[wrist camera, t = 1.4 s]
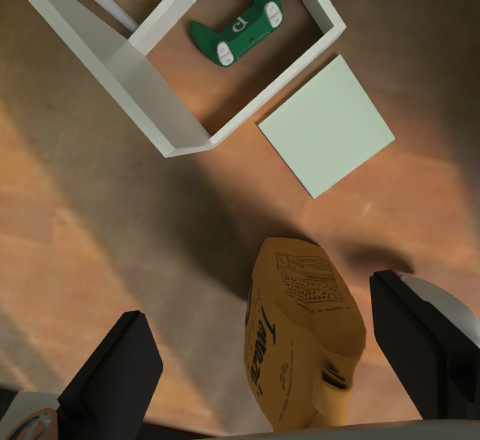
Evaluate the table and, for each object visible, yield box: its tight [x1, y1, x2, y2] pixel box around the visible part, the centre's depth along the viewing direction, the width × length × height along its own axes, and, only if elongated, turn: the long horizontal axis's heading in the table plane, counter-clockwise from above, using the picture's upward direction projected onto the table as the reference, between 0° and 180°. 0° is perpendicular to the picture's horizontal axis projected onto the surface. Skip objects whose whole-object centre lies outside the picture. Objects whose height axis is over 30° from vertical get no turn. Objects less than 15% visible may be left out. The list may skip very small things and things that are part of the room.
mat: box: [258, 55, 396, 199], centre depth 30 cm, size 11×11×1 cm
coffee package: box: [244, 237, 366, 432], centre depth 25 cm, size 10×12×22 cm
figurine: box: [400, 275, 480, 348], centre depth 29 cm, size 8×5×12 cm
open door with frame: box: [28, 0, 346, 158], centre depth 20 cm, size 18×14×17 cm
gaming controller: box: [190, 0, 283, 67], centre depth 26 cm, size 9×4×6 cm
